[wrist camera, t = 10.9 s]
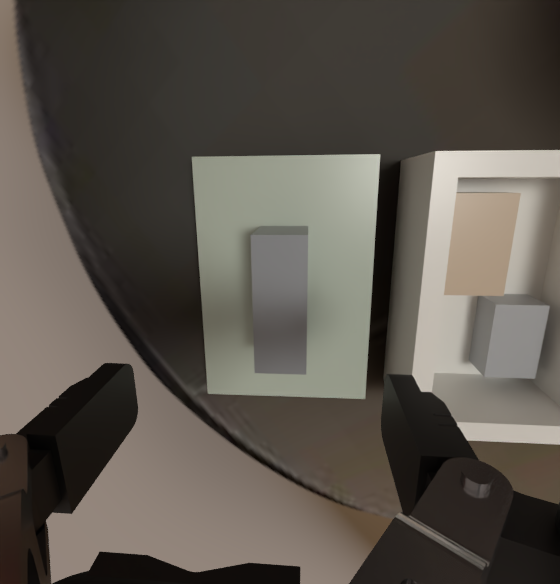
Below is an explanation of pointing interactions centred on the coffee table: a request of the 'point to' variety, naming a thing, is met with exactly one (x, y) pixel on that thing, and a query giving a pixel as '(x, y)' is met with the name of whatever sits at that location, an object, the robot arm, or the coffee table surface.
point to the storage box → (480, 289)
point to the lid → (286, 272)
